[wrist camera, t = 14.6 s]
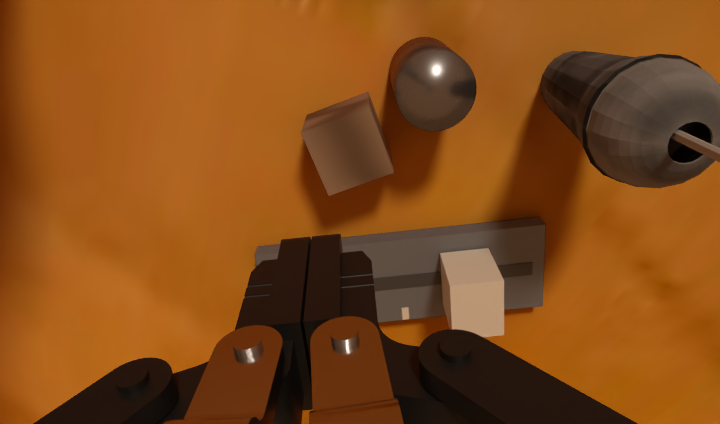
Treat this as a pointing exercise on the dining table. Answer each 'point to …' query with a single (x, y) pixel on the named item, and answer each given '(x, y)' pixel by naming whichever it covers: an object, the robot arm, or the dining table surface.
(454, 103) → the metal canister
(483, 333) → the knob
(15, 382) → the dining table surface
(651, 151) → the beverage cup
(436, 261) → the board
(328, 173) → the walnut block
